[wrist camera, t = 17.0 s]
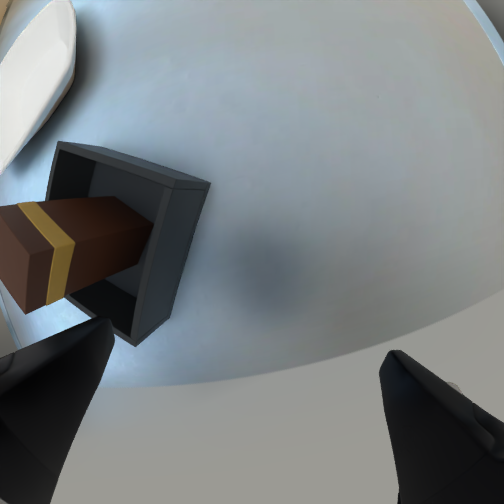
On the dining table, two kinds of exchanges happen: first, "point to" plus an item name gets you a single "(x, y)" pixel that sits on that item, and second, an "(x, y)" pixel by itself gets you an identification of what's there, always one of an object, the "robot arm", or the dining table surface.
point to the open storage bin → (158, 244)
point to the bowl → (36, 76)
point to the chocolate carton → (66, 246)
